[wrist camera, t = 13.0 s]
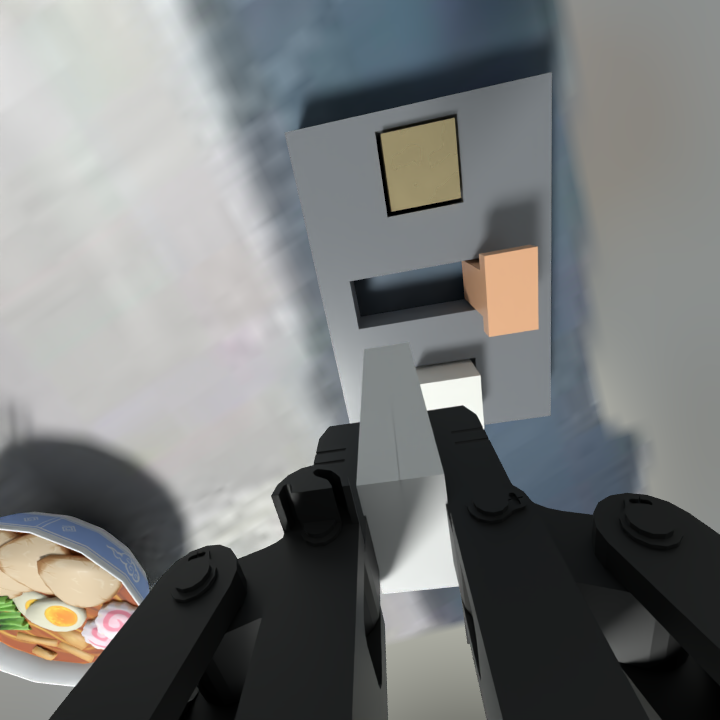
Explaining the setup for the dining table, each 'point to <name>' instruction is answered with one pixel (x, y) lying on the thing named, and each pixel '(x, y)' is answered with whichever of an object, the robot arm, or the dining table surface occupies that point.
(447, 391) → the white button
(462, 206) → the panel
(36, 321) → the dining table surface
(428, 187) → the brass button
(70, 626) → the ramen bowl
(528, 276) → the orange slider knob
